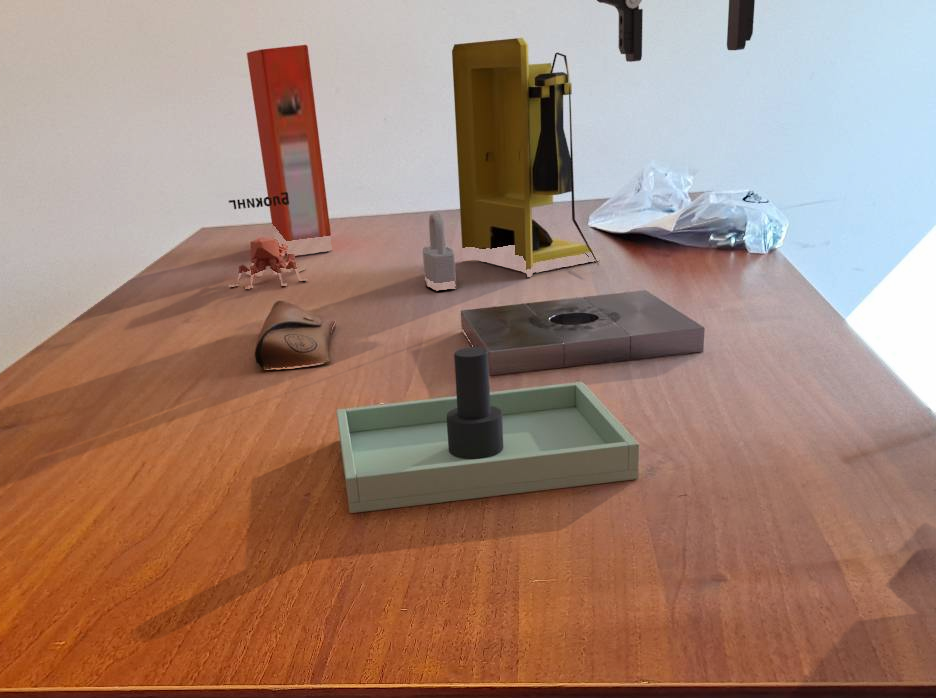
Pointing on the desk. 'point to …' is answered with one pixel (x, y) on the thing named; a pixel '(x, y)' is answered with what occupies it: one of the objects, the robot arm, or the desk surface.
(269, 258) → the beetle
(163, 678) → the desk surface
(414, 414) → the tray
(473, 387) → the plug
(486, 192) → the vintage telephone
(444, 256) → the padlock
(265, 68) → the file binder
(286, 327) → the sunglasses case
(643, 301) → the plate
